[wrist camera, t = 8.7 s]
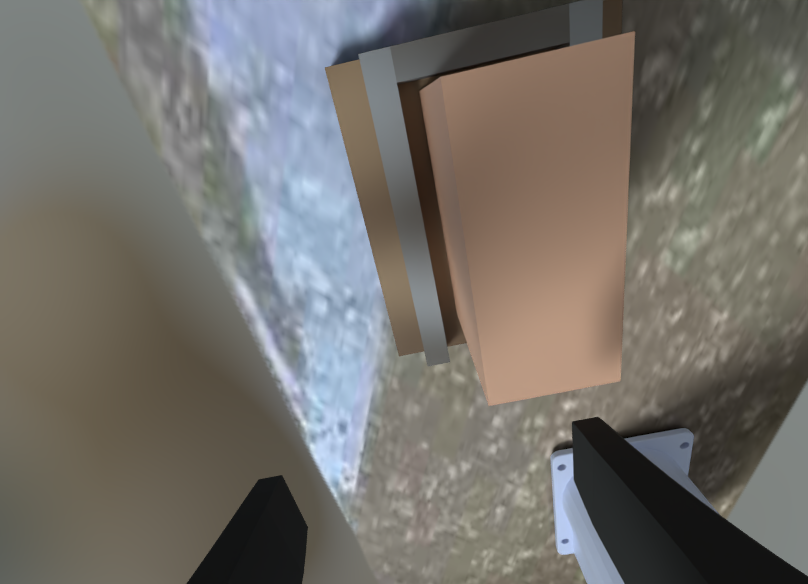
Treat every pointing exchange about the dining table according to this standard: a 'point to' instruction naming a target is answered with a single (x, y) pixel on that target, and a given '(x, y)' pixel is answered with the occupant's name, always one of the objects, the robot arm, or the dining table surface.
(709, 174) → the dining table surface
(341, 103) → the walnut cradle
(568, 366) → the block
